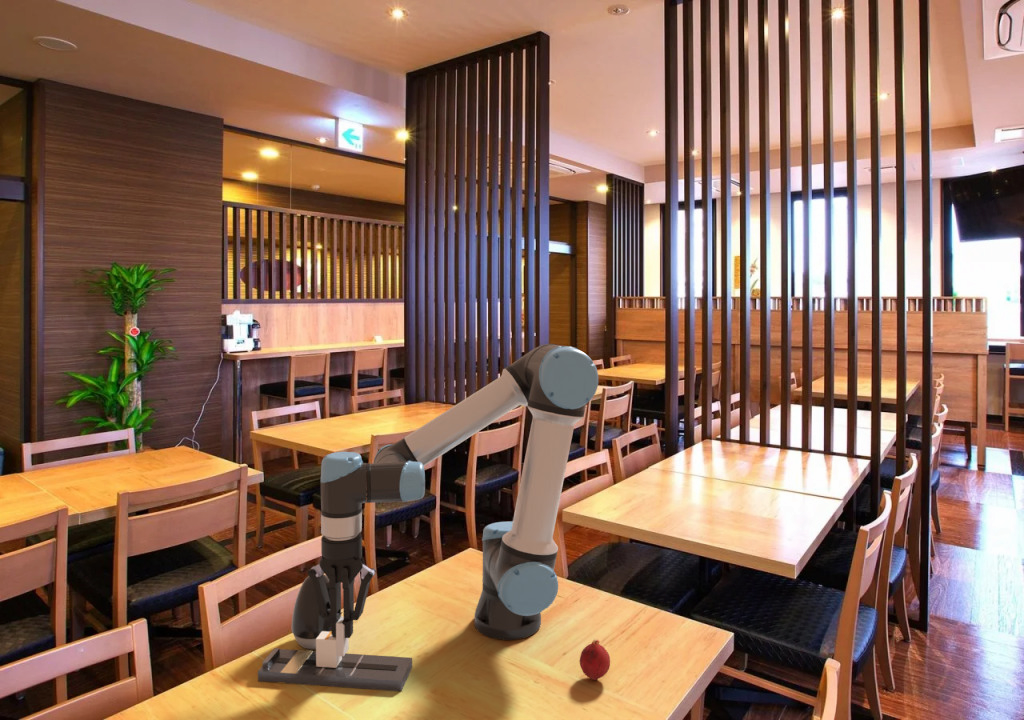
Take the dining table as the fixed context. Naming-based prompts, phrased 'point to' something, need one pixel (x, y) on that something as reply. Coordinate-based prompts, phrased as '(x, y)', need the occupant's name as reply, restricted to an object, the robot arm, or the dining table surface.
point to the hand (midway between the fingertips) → (342, 652)
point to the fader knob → (326, 650)
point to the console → (336, 670)
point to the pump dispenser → (309, 615)
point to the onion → (594, 660)
